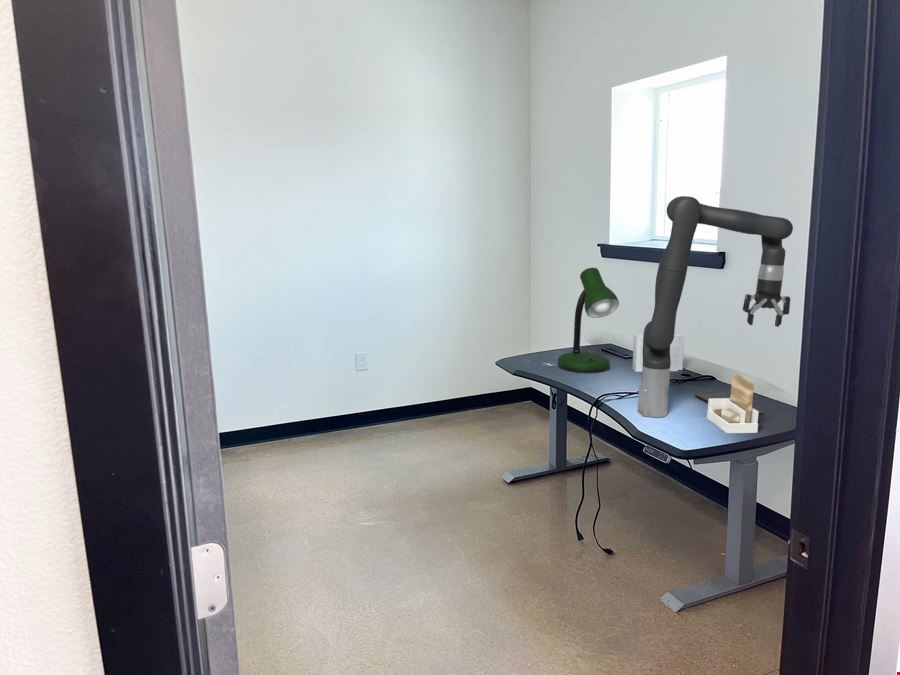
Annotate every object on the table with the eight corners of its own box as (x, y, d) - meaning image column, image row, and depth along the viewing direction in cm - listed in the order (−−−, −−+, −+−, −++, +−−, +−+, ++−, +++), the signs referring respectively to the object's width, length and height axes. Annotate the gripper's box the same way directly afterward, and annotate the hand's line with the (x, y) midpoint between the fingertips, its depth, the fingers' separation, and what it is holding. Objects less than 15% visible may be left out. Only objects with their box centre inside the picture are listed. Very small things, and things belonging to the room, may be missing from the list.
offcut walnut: (719, 423, 220) (720, 412, 220) (713, 420, 224) (714, 409, 223) (728, 423, 221) (729, 412, 220) (722, 419, 224) (723, 408, 223)
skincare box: (678, 368, 291) (680, 333, 288) (682, 371, 286) (685, 336, 283) (631, 368, 291) (633, 333, 287) (635, 372, 285) (637, 336, 282)
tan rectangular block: (744, 430, 214) (748, 383, 210) (728, 419, 224) (732, 374, 221) (749, 430, 214) (754, 383, 210) (733, 419, 225) (737, 374, 221)
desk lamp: (628, 375, 279) (634, 270, 270) (580, 379, 273) (585, 272, 264) (593, 358, 308) (598, 263, 299) (549, 362, 302) (553, 264, 293)
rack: (727, 433, 211) (729, 412, 210) (706, 417, 226) (708, 398, 225) (757, 432, 212) (759, 412, 210) (735, 417, 227) (736, 398, 225)
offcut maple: (729, 422, 213) (730, 413, 213) (720, 417, 218) (721, 408, 217) (738, 421, 214) (739, 413, 213) (730, 416, 218) (731, 408, 218)
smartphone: (735, 415, 227) (693, 393, 250) (735, 419, 227) (693, 397, 251) (766, 412, 229) (721, 391, 253) (765, 416, 230) (720, 395, 253)
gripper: (751, 278, 216) (744, 326, 219) (796, 280, 214) (789, 329, 217) (744, 275, 223) (738, 322, 227) (788, 277, 221) (781, 324, 225)
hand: (763, 325), depth 222 cm, fingers open, 8 cm apart
